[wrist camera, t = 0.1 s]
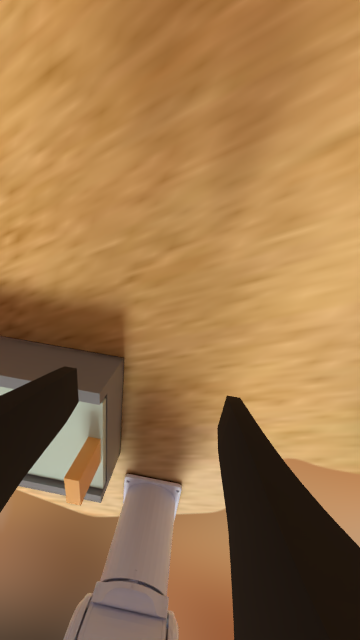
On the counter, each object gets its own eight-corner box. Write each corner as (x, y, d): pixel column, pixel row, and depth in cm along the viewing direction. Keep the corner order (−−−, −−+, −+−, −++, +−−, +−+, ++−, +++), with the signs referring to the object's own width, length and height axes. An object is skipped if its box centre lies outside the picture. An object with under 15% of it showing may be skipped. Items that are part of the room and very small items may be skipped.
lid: (105, 482, 21) (84, 533, 17) (-40, 453, 22) (-90, 496, 18) (105, 398, 17) (78, 441, 13) (-75, 364, 18) (-150, 397, 14)
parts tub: (120, 453, 26) (100, 502, 21) (-1, 429, 26) (-48, 472, 21) (124, 357, 20) (99, 393, 15) (-27, 331, 21) (-98, 357, 16)
